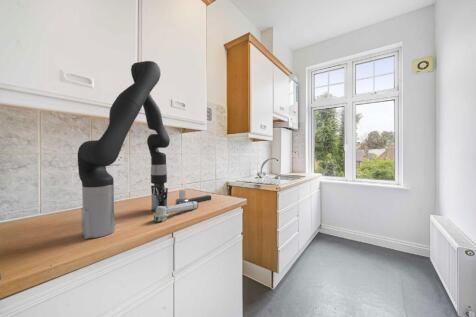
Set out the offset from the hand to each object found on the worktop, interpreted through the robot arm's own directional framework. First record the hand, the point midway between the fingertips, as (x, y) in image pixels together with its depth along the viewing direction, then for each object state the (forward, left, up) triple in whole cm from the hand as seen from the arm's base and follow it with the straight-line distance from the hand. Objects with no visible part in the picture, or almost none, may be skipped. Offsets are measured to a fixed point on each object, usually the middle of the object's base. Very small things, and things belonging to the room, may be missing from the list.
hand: (159, 206), depth 101 cm
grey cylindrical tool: (+3, -13, -2) cm, 14 cm away
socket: (0, 0, -1) cm, 1 cm away
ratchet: (+21, 0, -2) cm, 21 cm away
